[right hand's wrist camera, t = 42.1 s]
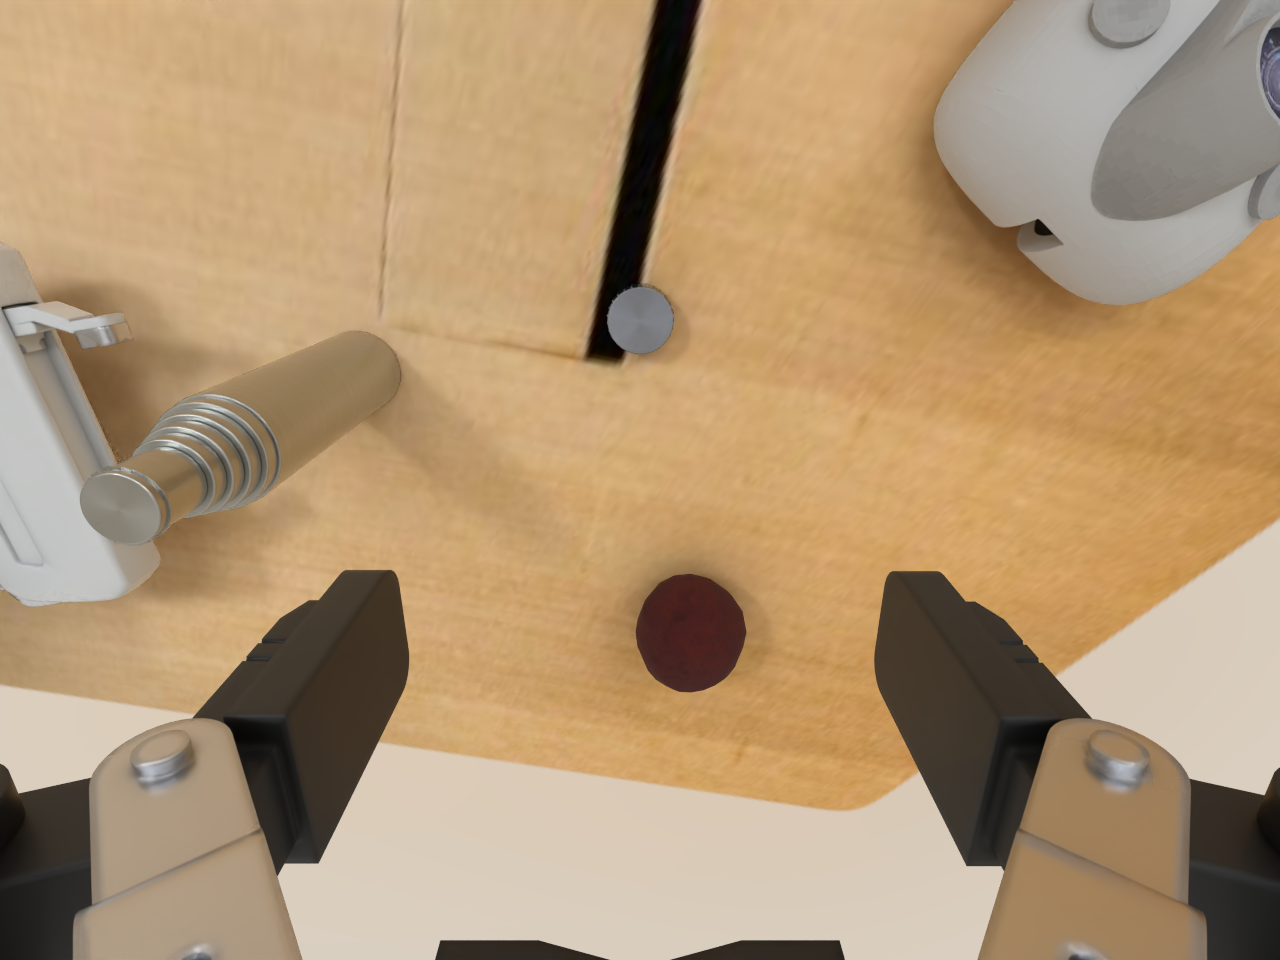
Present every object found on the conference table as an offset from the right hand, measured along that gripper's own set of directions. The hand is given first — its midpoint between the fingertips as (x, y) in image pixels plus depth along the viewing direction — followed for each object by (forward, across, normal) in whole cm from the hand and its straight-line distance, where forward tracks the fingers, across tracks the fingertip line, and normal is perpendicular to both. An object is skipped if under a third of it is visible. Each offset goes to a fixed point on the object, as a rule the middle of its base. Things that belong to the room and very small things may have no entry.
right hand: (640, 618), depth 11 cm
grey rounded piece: (+34, -27, -14) cm, 45 cm away
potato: (+34, -3, +20) cm, 39 cm away
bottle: (+34, +18, +3) cm, 38 cm away
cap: (+32, 0, 0) cm, 32 cm away
